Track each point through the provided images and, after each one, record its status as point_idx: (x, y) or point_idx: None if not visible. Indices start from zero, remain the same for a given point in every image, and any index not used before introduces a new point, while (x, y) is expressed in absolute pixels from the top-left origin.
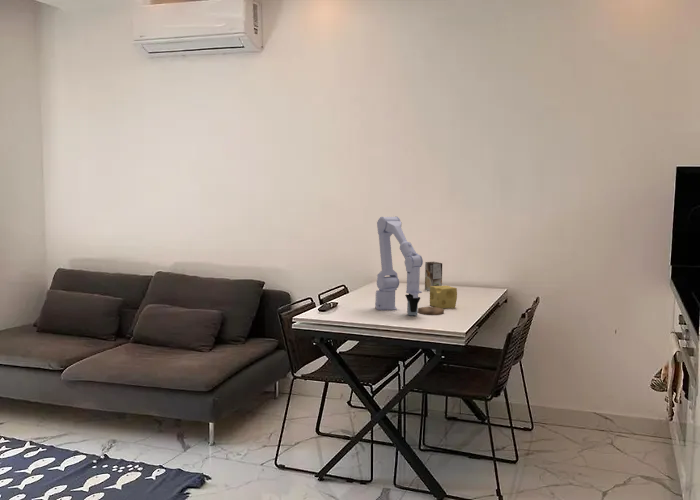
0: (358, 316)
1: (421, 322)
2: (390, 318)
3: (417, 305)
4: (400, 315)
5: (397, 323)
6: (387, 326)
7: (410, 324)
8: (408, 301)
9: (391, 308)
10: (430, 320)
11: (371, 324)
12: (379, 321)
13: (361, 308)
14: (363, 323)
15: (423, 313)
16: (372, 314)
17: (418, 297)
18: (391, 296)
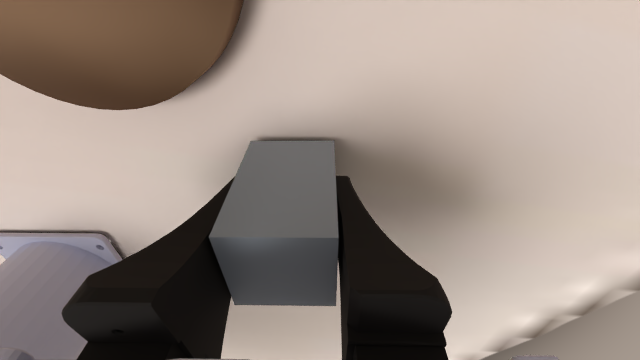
0: (329, 356)
1: (610, 148)
2: None
3: (336, 205)
4: None
5: (545, 276)
6: (588, 312)
7: (622, 226)
8: (297, 305)
9: (107, 262)
10: (576, 43)
11: (508, 344)
12: (456, 322)
13: None
14: (475, 356)
15: (217, 57)
16: (281, 325)
17: (397, 314)
18: (41, 355)
